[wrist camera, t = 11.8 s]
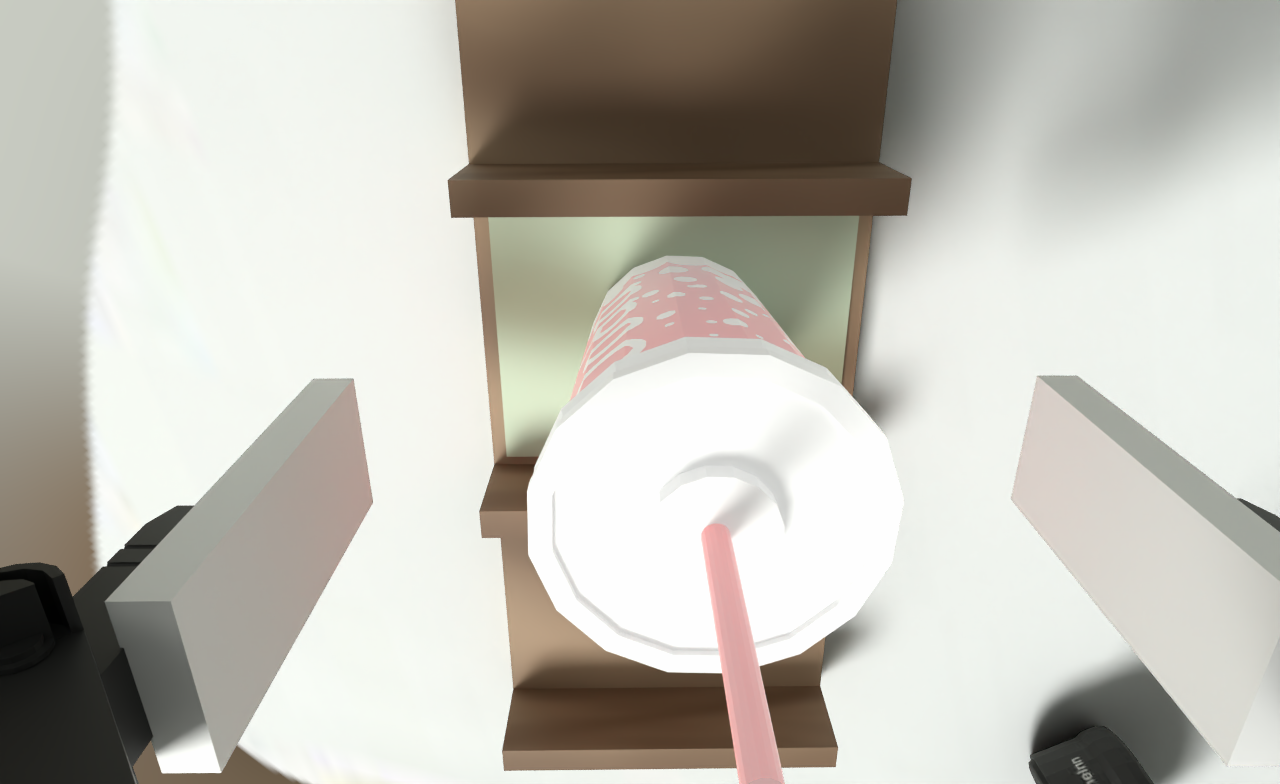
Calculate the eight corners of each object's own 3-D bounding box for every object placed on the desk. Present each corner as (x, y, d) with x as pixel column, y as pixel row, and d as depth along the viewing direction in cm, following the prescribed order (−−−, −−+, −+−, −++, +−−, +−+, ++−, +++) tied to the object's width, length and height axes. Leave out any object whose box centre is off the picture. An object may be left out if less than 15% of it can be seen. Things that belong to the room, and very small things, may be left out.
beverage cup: (723, 176, 20) (914, 430, 7) (834, 374, 22) (1140, 854, 9) (516, 304, 21) (344, 728, 8) (641, 480, 23) (663, 1038, 10)
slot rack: (443, -244, 17) (401, -309, 14) (911, -243, 17) (975, -308, 14) (518, 685, 27) (504, 770, 24) (811, 682, 28) (835, 766, 24)
